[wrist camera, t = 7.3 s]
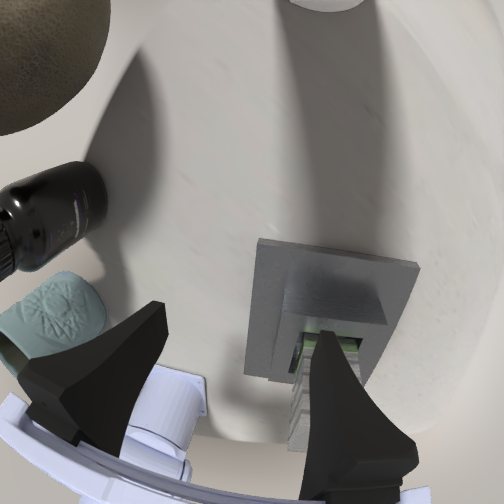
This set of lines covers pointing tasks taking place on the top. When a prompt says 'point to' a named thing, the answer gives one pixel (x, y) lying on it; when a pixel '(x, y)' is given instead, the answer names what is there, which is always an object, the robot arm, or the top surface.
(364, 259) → the stand base
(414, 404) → the top surface
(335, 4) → the cylindrical container
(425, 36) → the top surface
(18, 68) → the cantaloupe
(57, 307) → the teal embossed planter pot
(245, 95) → the top surface
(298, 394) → the column
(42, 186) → the supplement bottle
